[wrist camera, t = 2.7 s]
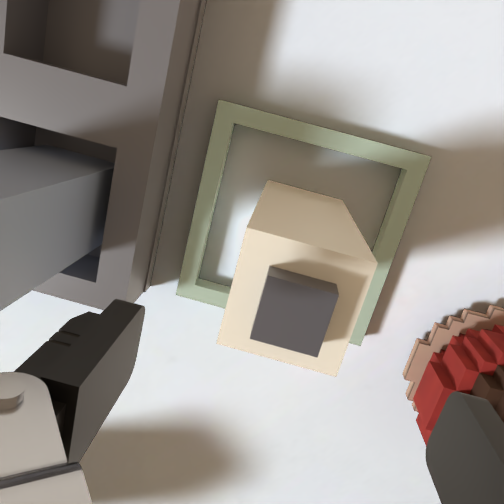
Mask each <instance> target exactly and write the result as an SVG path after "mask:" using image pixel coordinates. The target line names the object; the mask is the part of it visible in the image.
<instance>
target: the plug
mask: <svg viewBox="0 0 504 504" xmlns="http://www.w3.org/2000/svg"><path fill="white" fill-rule="evenodd" d="M377 264H378V263H377V261H376V259H375V257H374V256H373V254H372V252H371V250H370V248H369V247H368V245H367V243H366V241H365V239H364V238H363V236H362V234H361V232H360V231H359V229H358V227H357V225H356V223H355V222H354V220H353V218H352V216H351V215H350V213H349V211H348V209H347V207H346V206H345V204H344V202H343V200H340V199H337V198H333V197H329V196H326V195H322V194H318V193H315V192H311V191H307V190H304V189H300V188H296V187H293V186H289V185H285V184H282V183H278V182H274V181H271V180H268V181H267V183H266V185H265V187H264V189H263V192H262V194H261V196H260V198H259V201H258V203H257V205H256V207H255V210H254V212H253V214H252V216H251V219H250V221H249V223H248V225H247V228H246V232H245V235H244V239H243V243H242V247H241V251H240V255H239V258H238V262H237V266H236V270H235V274H234V278H233V282H232V285H231V289H230V293H229V297H228V301H227V305H226V308H225V312H224V316H223V320H222V324H221V328H220V331H219V335H218V339H217V343H216V344H220V345H223V346H227V347H231V348H234V349H238V350H241V351H245V352H249V353H252V354H256V355H259V356H263V357H267V358H270V359H274V360H277V361H281V362H285V363H288V364H292V365H295V366H299V367H303V368H306V369H310V370H313V371H317V372H321V373H324V374H328V375H331V376H335V377H336V376H337V373H338V371H339V368H340V365H341V363H342V360H343V357H344V354H345V352H346V349H347V346H348V343H349V341H350V338H351V335H352V333H353V330H354V327H355V324H356V322H357V319H358V316H359V313H360V311H361V308H362V305H363V302H364V300H365V297H366V294H367V292H368V289H369V286H370V283H371V281H372V278H373V275H374V272H375V270H376V267H377Z"/></svg>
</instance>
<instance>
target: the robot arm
mask: <svg viewBox="0 0 504 504" xmlns="http://www.w3.org/2000/svg"><path fill="white" fill-rule="evenodd" d="M144 315H145V307H144V306H142V305H138V304H134V303H131V302H127V301H123V300H119V299H115V300H113V301H112V302H111V304H110V305H109V306H108V307H107V308H106V309H105V310H104V311H103V312H102V313H101V314H96V313H92V312H87V313H84V314H82V315H79V316H77V317H74V318H72V319H70V320H69V321H68V322H67V323H66V324H65V325H64V326H63V327H62V328H60V329H59V332H56V333H55V334H54V335H53V336H52V337H51V338H50V339H49V341H46V342H45V343H44V344H43V345H42V346H41V347H40V348H39V349H38V350H37V351H36V352H35V353H34V354H33V355H31V356H30V357H29V358H28V359H27V360H26V361H25V362H24V363H23V364H22V365H21V366H20V367H19V368H17V369H16V370H15V371H14V372H2V373H0V504H92V500H91V497H90V493H89V490H88V486H87V483H86V480H85V476H84V473H83V470H82V468H81V466H80V464H79V461H80V460H81V458H82V456H83V455H84V453H85V452H86V450H87V448H88V447H89V445H90V443H91V442H92V440H93V438H94V437H95V435H96V434H97V432H98V430H99V429H100V427H101V425H102V424H103V422H104V420H105V419H106V417H107V416H108V414H109V412H110V411H111V409H112V407H113V406H114V404H115V403H116V401H117V399H118V398H119V396H120V394H121V393H122V391H123V389H124V388H125V386H126V385H127V383H128V381H129V379H130V376H131V374H132V371H133V368H134V365H135V361H136V357H137V352H138V346H139V341H140V336H141V331H142V326H143V320H144ZM426 463H427V466H428V469H429V472H430V474H431V477H432V480H433V482H434V485H435V488H436V490H437V493H438V495H439V498H440V501H441V503H442V504H504V423H503V421H502V420H501V418H500V417H499V415H498V414H497V412H496V411H495V409H494V408H493V406H492V405H491V404H490V402H489V401H488V400H487V399H484V398H480V397H476V396H473V395H469V394H465V393H462V392H458V391H454V392H452V393H451V394H450V395H449V397H448V398H447V400H446V403H445V405H444V407H443V409H442V411H441V413H440V415H439V418H438V420H437V422H436V424H435V426H434V428H433V430H432V433H431V435H430V437H429V439H428V442H427V446H426Z"/></svg>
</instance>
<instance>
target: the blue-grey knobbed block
mask: <svg viewBox="0 0 504 504" xmlns="http://www.w3.org/2000/svg"><path fill="white" fill-rule="evenodd" d="M114 165H115V163H113V162H109V161H106V160H102V159H98V158H95V157H91V156H87V155H84V154H80V153H76V152H73V151H69V150H65V149H62V148H58V147H54V146H51V145H41V146H32V147H23V148H14V149H5V150H0V311H1V310H2V309H4V308H6V307H7V306H9V305H10V304H12V303H13V302H15V301H16V300H18V299H19V298H21V297H22V296H24V295H25V294H27V293H28V292H30V291H31V290H33V289H34V288H36V287H38V286H39V285H41V284H42V283H44V282H45V281H47V280H48V279H50V278H51V277H53V276H54V275H56V274H57V273H59V272H60V271H62V270H63V269H65V268H66V267H68V266H70V265H71V264H73V263H74V262H76V261H77V260H79V259H80V258H82V257H83V256H85V255H86V254H88V253H89V252H91V251H92V250H94V249H95V248H97V247H98V246H100V245H101V244H102V241H103V235H104V228H105V222H106V216H107V209H108V203H109V197H110V190H111V184H112V177H113V171H114Z"/></svg>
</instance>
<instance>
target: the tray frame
mask: <svg viewBox="0 0 504 504" xmlns="http://www.w3.org/2000/svg"><path fill="white" fill-rule="evenodd" d="M234 124H239V125H243V126H246V127H250V128H254V129H257V130H261V131H265V132H269V133H272V134H276V135H280V136H283V137H287V138H291V139H295V140H298V141H302V142H306V143H309V144H313V145H317V146H320V147H324V148H328V149H332V150H335V151H339V152H343V153H346V154H350V155H354V156H357V157H361V158H365V159H369V160H372V161H376V162H380V163H383V164H387V165H391V166H394V167H398V168H402V170H401V173H400V176H399V178H398V181H397V184H396V187H395V189H394V192H393V195H392V198H391V201H390V203H389V206H388V209H387V212H386V215H385V217H384V220H383V223H382V226H381V228H380V231H379V234H378V237H377V240H376V242H375V245H374V248H373V251H372V254H373V256H374V257H375V259H376V261H377V263H378V264H377V267H376V270H375V272H374V275H373V278H372V281H371V283H370V286H369V289H368V292H367V294H366V297H365V300H364V302H363V305H362V308H361V311H360V313H359V316H358V319H357V322H356V324H355V327H354V330H353V333H352V335H351V338H350V341H349V343H351V344H355V345H359V346H361V343H362V341H363V338H364V335H365V333H366V330H367V327H368V325H369V322H370V319H371V317H372V314H373V311H374V309H375V306H376V303H377V301H378V298H379V296H380V293H381V290H382V288H383V285H384V282H385V280H386V277H387V274H388V272H389V269H390V266H391V264H392V261H393V258H394V256H395V253H396V250H397V248H398V245H399V242H400V240H401V237H402V234H403V232H404V229H405V226H406V224H407V221H408V219H409V216H410V213H411V211H412V208H413V205H414V203H415V200H416V197H417V195H418V192H419V189H420V187H421V184H422V181H423V179H424V176H425V173H426V171H427V168H428V165H429V163H430V160H431V156H427V155H424V154H420V153H416V152H413V151H409V150H405V149H401V148H398V147H394V146H390V145H387V144H383V143H379V142H375V141H372V140H368V139H364V138H361V137H357V136H353V135H349V134H346V133H342V132H338V131H335V130H331V129H327V128H323V127H320V126H316V125H312V124H309V123H305V122H301V121H298V120H294V119H290V118H286V117H283V116H279V115H275V114H272V113H268V112H264V111H260V110H257V109H253V108H249V107H246V106H242V105H238V104H234V103H231V102H227V101H223V100H218V105H217V109H216V114H215V118H214V123H213V128H212V132H211V137H210V141H209V146H208V150H207V155H206V159H205V164H204V169H203V173H202V178H201V182H200V187H199V191H198V196H197V200H196V205H195V210H194V214H193V219H192V223H191V228H190V232H189V237H188V241H187V246H186V251H185V255H184V260H183V264H182V269H181V273H180V278H179V282H178V287H177V292H176V295H178V296H181V297H185V298H189V299H192V300H196V301H199V302H203V303H207V304H210V305H214V306H218V307H221V308H226V305H227V301H228V297H229V293H230V289H231V287H228V286H225V285H221V284H218V283H214V282H210V281H207V280H203V279H199V274H200V269H201V265H202V261H203V256H204V252H205V248H206V244H207V239H208V235H209V231H210V226H211V222H212V218H213V214H214V209H215V205H216V201H217V197H218V192H219V188H220V184H221V179H222V175H223V171H224V167H225V162H226V158H227V154H228V150H229V145H230V141H231V137H232V132H233V128H234Z"/></svg>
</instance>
